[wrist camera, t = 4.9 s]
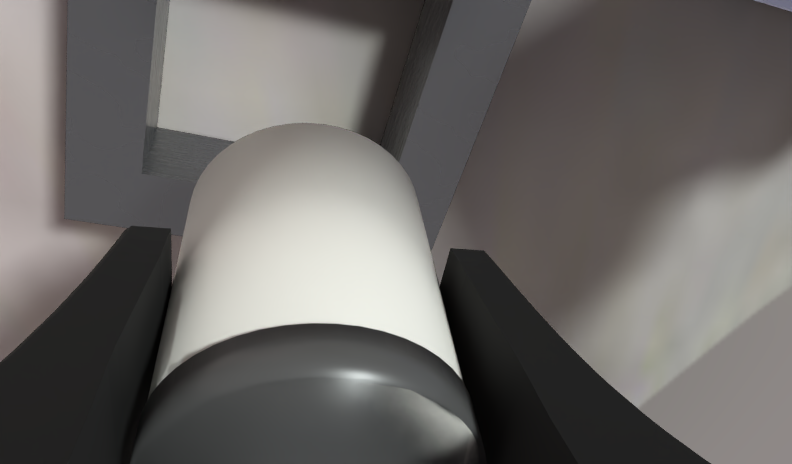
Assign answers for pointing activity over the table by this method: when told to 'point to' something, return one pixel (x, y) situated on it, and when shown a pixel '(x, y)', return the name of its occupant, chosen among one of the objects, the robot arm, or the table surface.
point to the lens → (306, 316)
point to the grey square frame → (190, 154)
